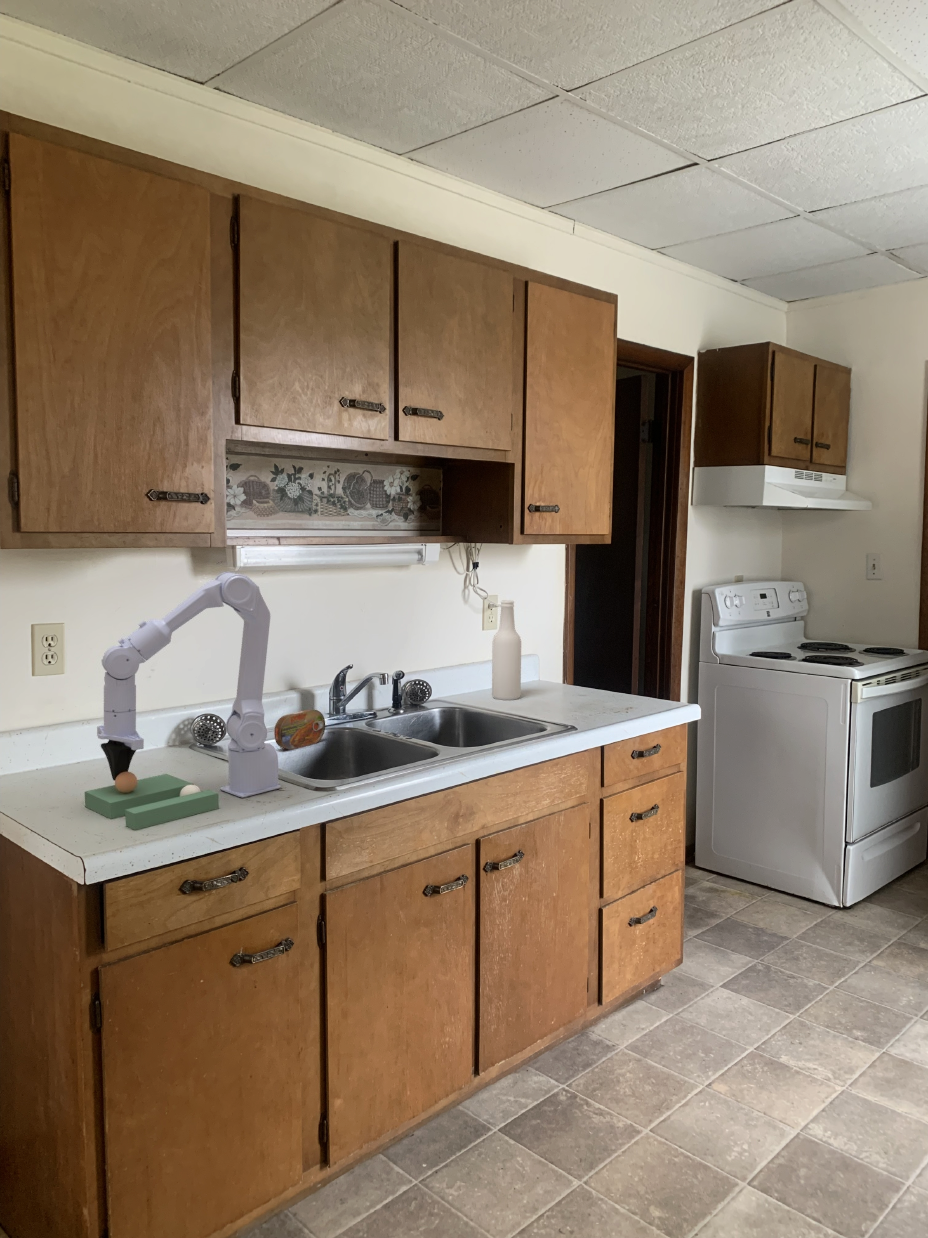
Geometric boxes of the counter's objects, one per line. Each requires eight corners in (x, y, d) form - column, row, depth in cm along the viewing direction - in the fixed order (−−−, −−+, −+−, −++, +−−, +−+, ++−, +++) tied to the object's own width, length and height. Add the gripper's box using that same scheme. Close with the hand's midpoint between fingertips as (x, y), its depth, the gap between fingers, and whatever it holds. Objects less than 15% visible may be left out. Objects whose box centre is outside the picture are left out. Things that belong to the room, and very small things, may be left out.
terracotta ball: (129, 779, 179) (132, 764, 177) (139, 793, 177) (142, 778, 175) (109, 785, 176) (112, 771, 174) (119, 800, 174) (122, 785, 172)
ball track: (166, 788, 189) (166, 773, 188) (218, 808, 176) (218, 793, 176) (85, 806, 176) (84, 791, 176) (134, 830, 163) (134, 813, 163)
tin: (281, 753, 217) (280, 718, 216) (272, 751, 219) (271, 716, 218) (326, 741, 230) (326, 707, 229) (317, 739, 231) (317, 705, 230)
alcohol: (526, 699, 284) (527, 601, 281) (501, 701, 280) (503, 602, 276) (510, 694, 292) (511, 599, 288) (486, 696, 287) (487, 600, 284)
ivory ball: (205, 801, 179) (190, 792, 181) (205, 786, 177) (190, 777, 179) (191, 813, 176) (175, 804, 178) (191, 798, 174) (175, 788, 175)
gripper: (81, 705, 177) (81, 775, 178) (118, 718, 167) (117, 792, 169) (117, 701, 182) (116, 769, 184) (154, 713, 172) (153, 785, 174)
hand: (119, 779), depth 176 cm, fingers closed, pressing on terracotta ball
